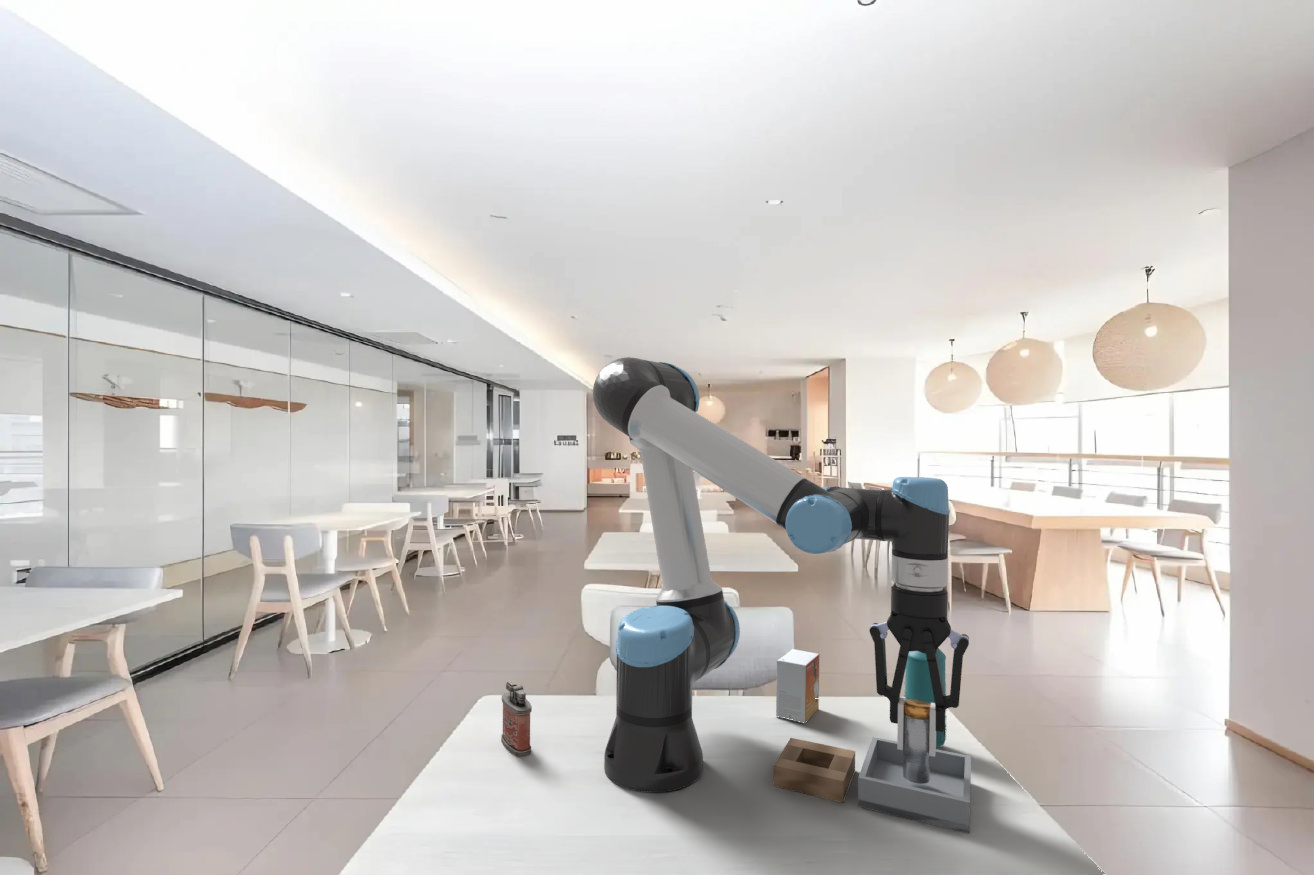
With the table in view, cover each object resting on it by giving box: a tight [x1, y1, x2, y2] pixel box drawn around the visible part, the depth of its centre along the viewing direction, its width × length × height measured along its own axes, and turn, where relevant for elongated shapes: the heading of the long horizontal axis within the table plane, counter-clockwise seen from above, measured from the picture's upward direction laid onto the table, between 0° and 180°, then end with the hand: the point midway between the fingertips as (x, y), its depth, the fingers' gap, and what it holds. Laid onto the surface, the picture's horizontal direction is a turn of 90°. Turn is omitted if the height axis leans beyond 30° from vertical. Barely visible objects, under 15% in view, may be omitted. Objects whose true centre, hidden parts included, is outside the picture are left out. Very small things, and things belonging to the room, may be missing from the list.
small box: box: [775, 648, 820, 724], centre depth 124 cm, size 8×6×10 cm
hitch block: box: [772, 737, 856, 803], centre depth 101 cm, size 10×10×3 cm
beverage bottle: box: [903, 647, 948, 748], centre depth 111 cm, size 6×7×20 cm
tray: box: [857, 736, 972, 834], centre depth 96 cm, size 14×14×4 cm
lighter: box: [500, 680, 533, 758], centre depth 110 cm, size 8×3×10 cm, turn 34°
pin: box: [903, 699, 931, 784], centre depth 96 cm, size 4×4×10 cm
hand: (916, 748), depth 96 cm, fingers closed on pin, 3 cm apart
